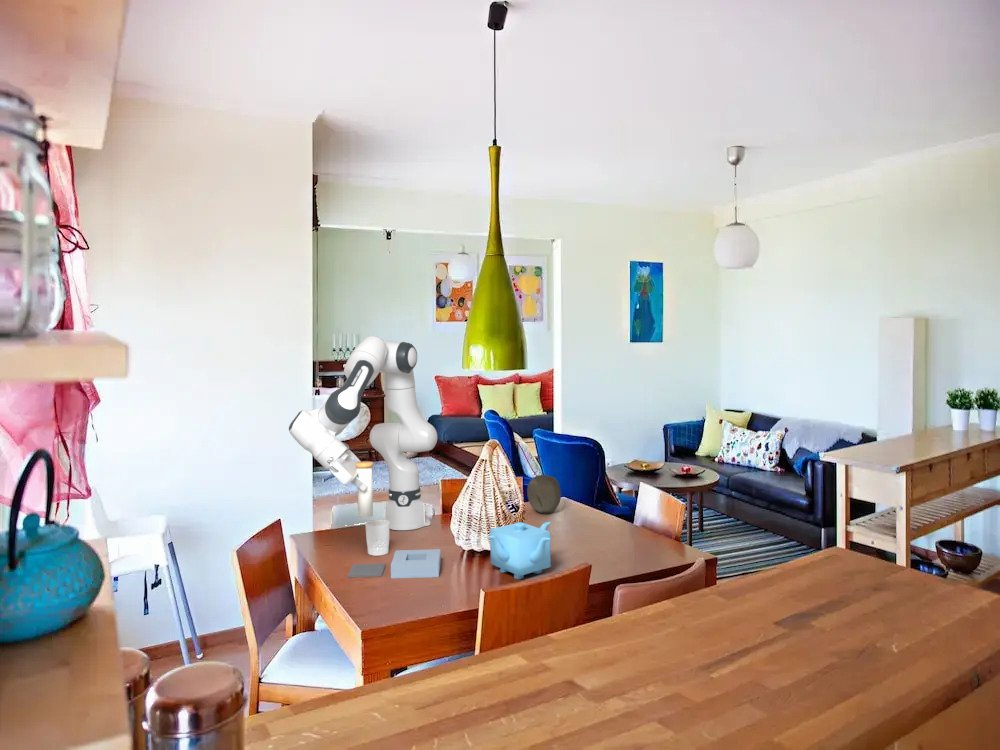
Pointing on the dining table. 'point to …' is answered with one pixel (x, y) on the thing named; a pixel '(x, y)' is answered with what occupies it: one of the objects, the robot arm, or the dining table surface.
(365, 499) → the plug
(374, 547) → the white cup
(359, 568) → the mat
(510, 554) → the teakettle
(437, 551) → the socket
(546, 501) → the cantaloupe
